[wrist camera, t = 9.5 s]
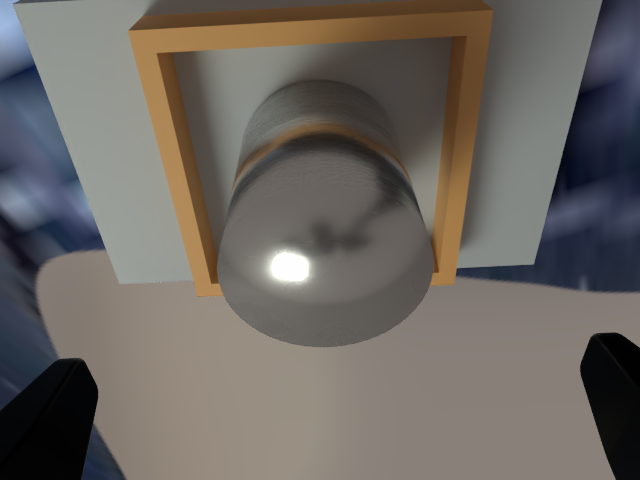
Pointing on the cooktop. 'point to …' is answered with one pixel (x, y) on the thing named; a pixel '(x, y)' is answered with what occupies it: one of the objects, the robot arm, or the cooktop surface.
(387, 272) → the steel can
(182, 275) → the grey slab with frame
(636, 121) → the cooktop surface
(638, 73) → the cooktop surface
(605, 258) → the cooktop surface
